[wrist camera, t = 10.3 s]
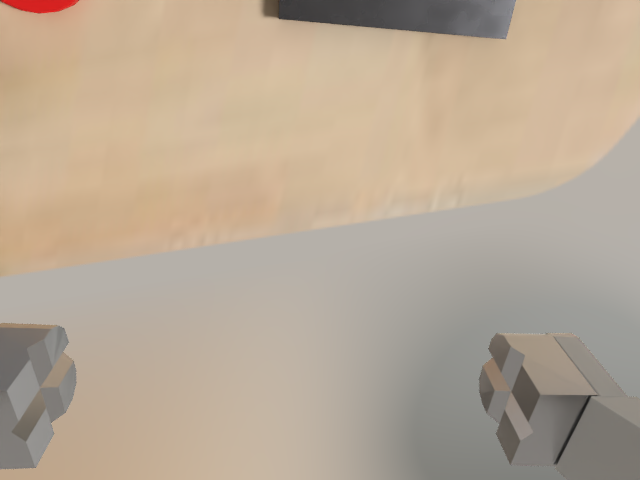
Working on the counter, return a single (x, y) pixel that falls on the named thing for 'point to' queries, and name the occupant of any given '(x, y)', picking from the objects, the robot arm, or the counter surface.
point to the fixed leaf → (408, 15)
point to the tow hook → (40, 5)
